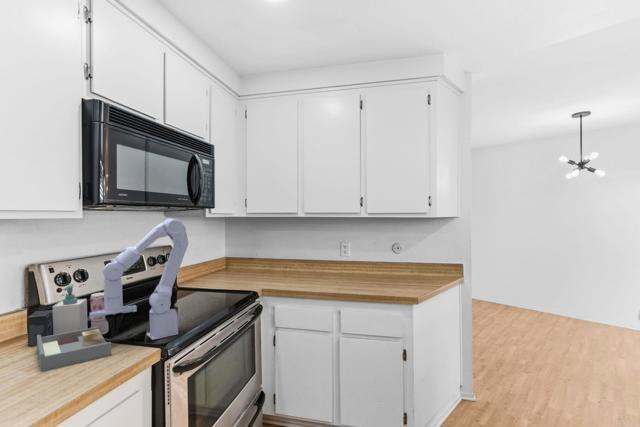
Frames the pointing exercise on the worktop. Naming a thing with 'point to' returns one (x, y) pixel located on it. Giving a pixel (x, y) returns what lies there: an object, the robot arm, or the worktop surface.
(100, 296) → the beverage can
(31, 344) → the box
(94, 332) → the maple block
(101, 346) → the trap tray
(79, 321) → the soap bottle
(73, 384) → the worktop surface
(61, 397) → the worktop surface
